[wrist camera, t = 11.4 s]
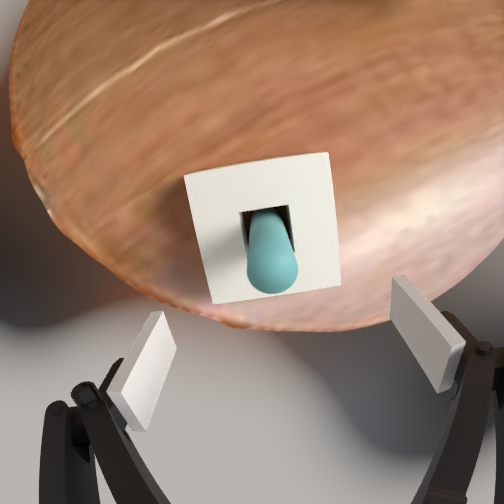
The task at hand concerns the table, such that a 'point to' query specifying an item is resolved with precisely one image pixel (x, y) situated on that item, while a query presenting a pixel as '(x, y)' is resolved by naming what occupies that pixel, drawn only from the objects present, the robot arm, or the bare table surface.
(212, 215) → the socket board
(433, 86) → the table surface
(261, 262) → the peg
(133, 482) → the robot arm
